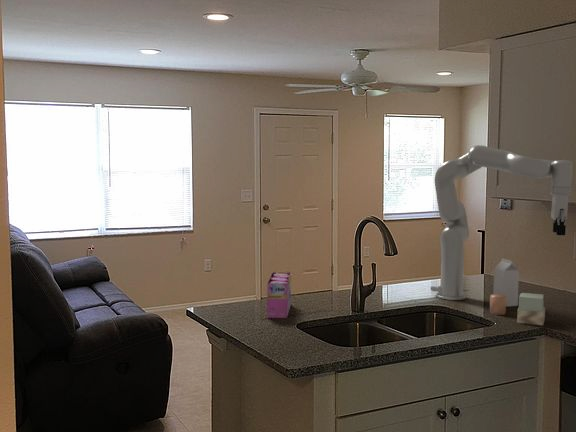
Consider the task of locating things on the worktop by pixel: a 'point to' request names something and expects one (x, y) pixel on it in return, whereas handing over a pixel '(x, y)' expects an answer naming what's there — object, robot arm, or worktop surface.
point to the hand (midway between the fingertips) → (558, 233)
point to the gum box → (278, 295)
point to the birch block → (531, 317)
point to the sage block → (531, 302)
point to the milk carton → (506, 281)
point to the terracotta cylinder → (498, 304)
